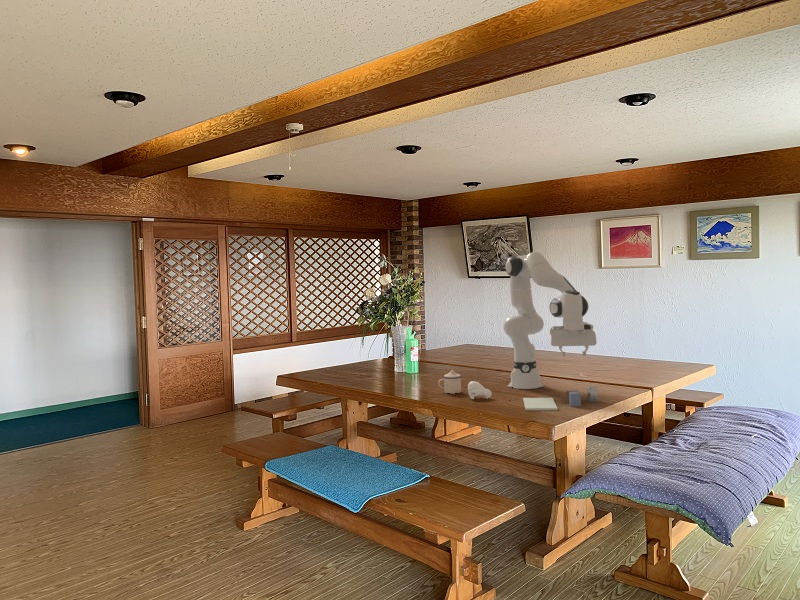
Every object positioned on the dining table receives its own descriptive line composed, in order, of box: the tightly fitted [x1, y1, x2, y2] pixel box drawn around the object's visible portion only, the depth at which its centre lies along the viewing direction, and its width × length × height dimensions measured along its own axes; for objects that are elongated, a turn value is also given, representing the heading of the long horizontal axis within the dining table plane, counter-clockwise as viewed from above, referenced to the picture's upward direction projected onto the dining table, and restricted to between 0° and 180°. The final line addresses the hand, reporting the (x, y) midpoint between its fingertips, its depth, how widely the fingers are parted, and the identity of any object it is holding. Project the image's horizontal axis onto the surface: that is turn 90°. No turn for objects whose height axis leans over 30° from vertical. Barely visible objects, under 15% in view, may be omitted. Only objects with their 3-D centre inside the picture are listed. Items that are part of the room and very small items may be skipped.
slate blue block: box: [568, 391, 582, 407], centre depth 276 cm, size 4×4×6 cm
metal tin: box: [586, 385, 599, 403], centre depth 282 cm, size 5×5×7 cm
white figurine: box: [467, 380, 493, 400], centre depth 298 cm, size 6×8×12 cm
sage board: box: [522, 397, 558, 411], centre depth 279 cm, size 22×14×1 cm, turn 171°
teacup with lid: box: [437, 370, 462, 395], centre depth 315 cm, size 12×9×12 cm
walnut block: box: [566, 390, 579, 404], centre depth 283 cm, size 5×5×5 cm
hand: (573, 355), depth 275 cm, fingers open, 8 cm apart
